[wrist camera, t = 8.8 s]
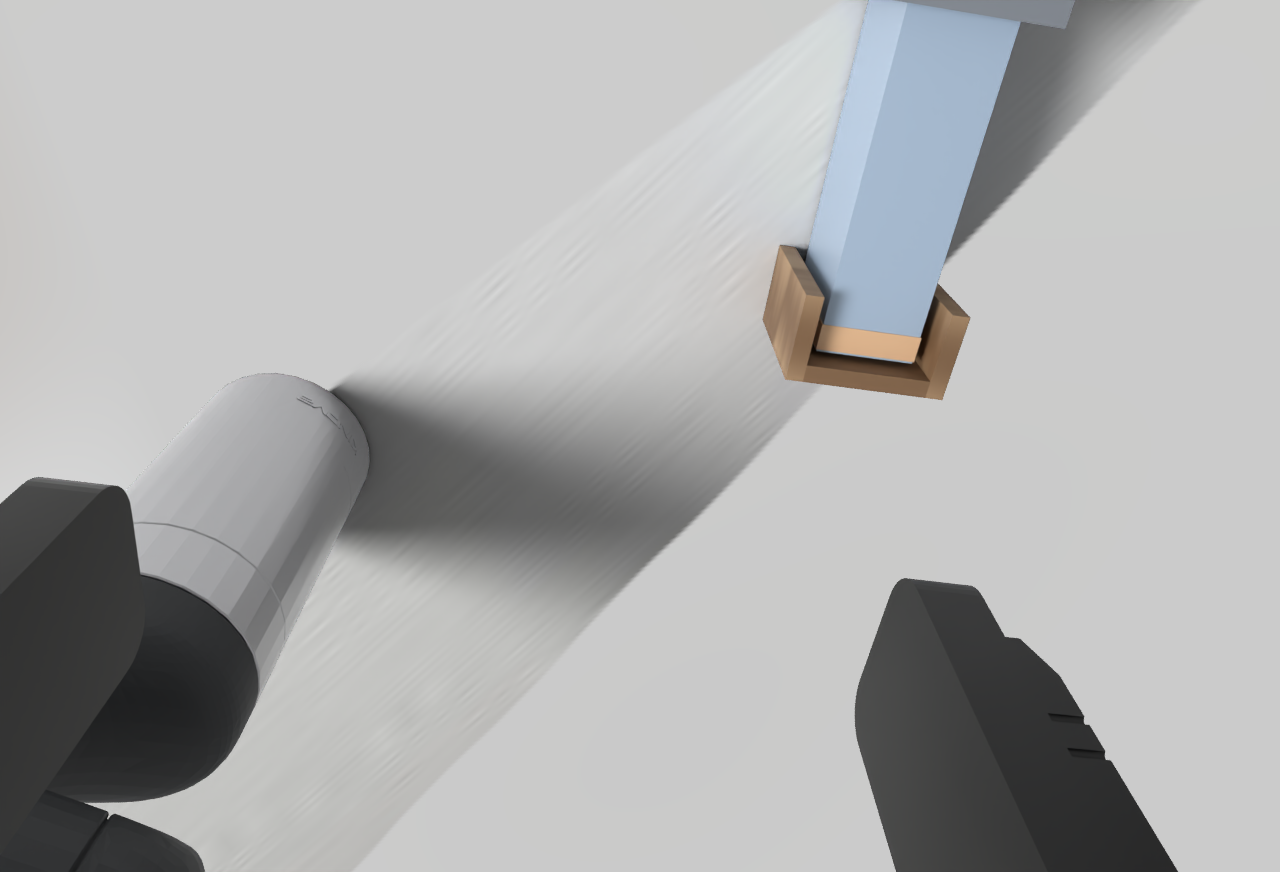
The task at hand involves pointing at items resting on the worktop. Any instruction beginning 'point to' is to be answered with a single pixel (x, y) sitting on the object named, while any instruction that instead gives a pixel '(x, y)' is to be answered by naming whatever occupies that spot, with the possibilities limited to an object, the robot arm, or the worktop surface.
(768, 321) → the socket
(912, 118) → the tan-tipped blue bar
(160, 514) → the robot arm
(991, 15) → the blue-gray block
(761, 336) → the worktop surface
